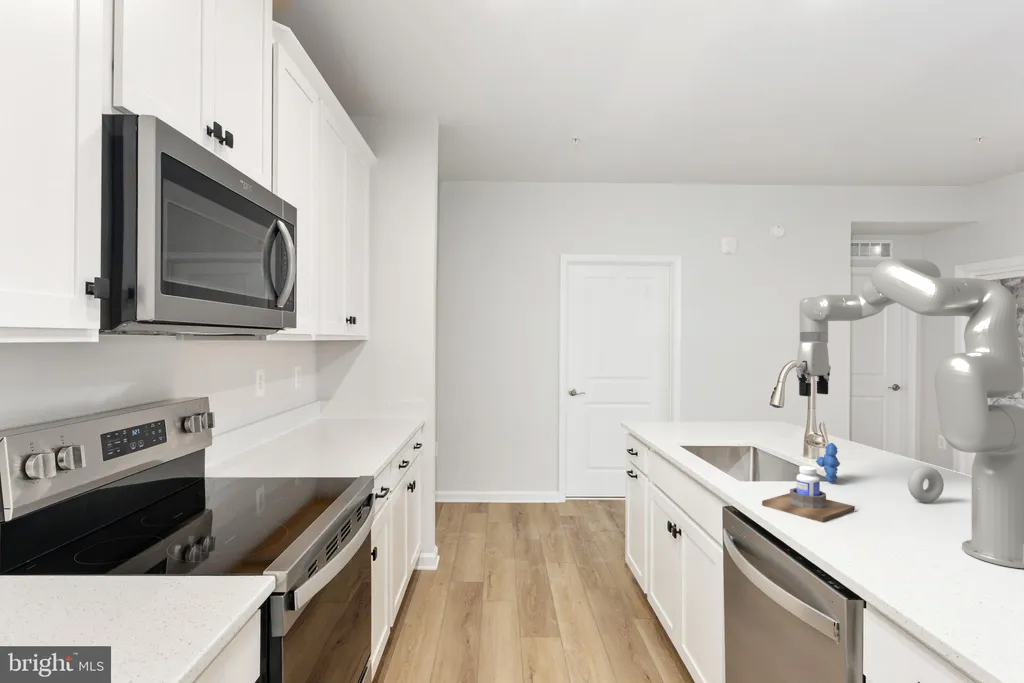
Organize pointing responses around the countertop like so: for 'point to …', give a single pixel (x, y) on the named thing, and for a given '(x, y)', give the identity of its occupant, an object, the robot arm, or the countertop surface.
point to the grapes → (829, 462)
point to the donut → (933, 484)
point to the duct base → (809, 512)
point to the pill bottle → (808, 481)
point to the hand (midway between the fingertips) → (813, 395)
